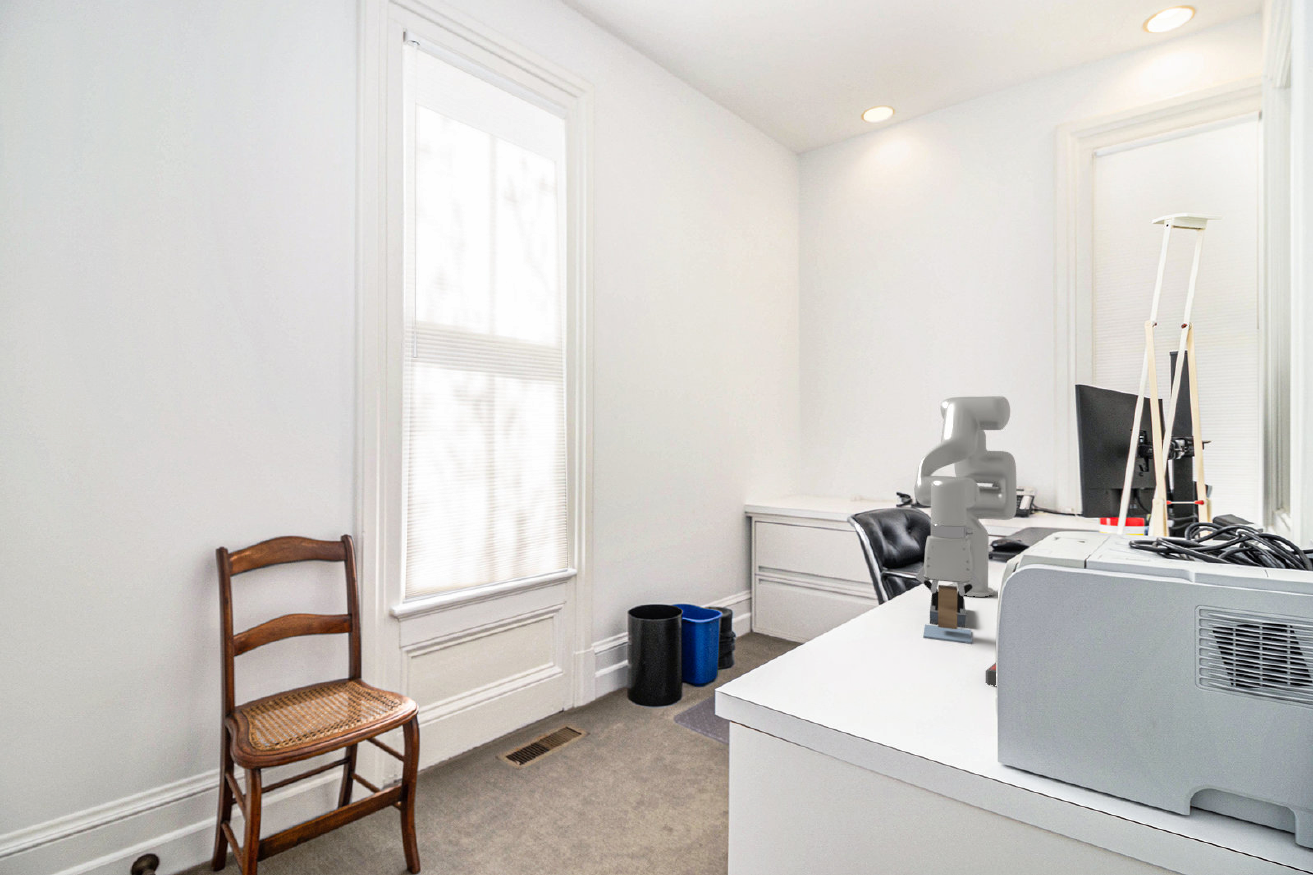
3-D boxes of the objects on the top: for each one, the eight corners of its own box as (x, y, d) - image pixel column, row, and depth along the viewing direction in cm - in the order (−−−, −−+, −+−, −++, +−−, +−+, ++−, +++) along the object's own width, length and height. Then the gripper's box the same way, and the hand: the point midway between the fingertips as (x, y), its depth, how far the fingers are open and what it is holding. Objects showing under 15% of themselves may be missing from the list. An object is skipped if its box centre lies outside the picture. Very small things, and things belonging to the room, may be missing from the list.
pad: (924, 626, 157) (924, 624, 157) (970, 631, 153) (970, 629, 153) (923, 637, 148) (923, 635, 148) (971, 643, 144) (971, 642, 144)
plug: (938, 622, 153) (938, 584, 153) (956, 624, 152) (957, 586, 152) (938, 627, 150) (938, 588, 150) (957, 629, 148) (957, 590, 148)
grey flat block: (931, 606, 176) (931, 595, 176) (964, 609, 173) (964, 598, 173) (929, 623, 160) (929, 611, 160) (965, 627, 156) (965, 615, 156)
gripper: (987, 532, 150) (986, 610, 151) (910, 527, 157) (910, 602, 157) (989, 536, 144) (988, 619, 144) (908, 531, 151) (908, 610, 151)
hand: (947, 609), depth 151 cm, fingers closed on plug, 4 cm apart
